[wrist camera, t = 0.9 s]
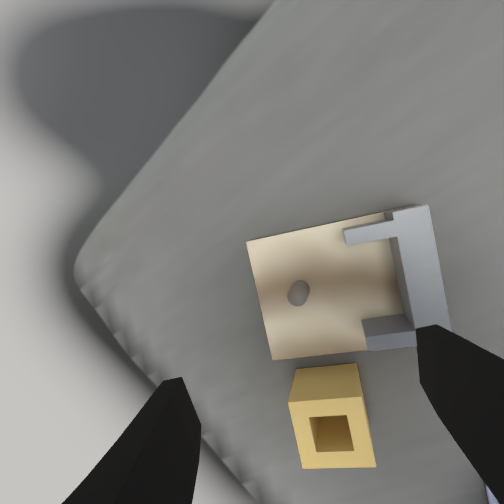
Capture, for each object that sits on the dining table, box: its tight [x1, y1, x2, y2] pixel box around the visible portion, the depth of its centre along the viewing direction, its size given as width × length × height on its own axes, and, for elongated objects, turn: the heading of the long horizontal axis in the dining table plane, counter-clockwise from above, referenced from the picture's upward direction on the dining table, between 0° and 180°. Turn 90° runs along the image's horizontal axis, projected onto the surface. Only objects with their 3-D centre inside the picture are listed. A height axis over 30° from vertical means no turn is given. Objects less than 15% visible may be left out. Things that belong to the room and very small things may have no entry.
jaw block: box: [288, 363, 376, 469], centre depth 25 cm, size 5×5×5 cm
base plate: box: [246, 204, 421, 360], centre depth 24 cm, size 10×13×4 cm
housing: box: [342, 205, 452, 352], centre depth 22 cm, size 9×5×4 cm, turn 13°
